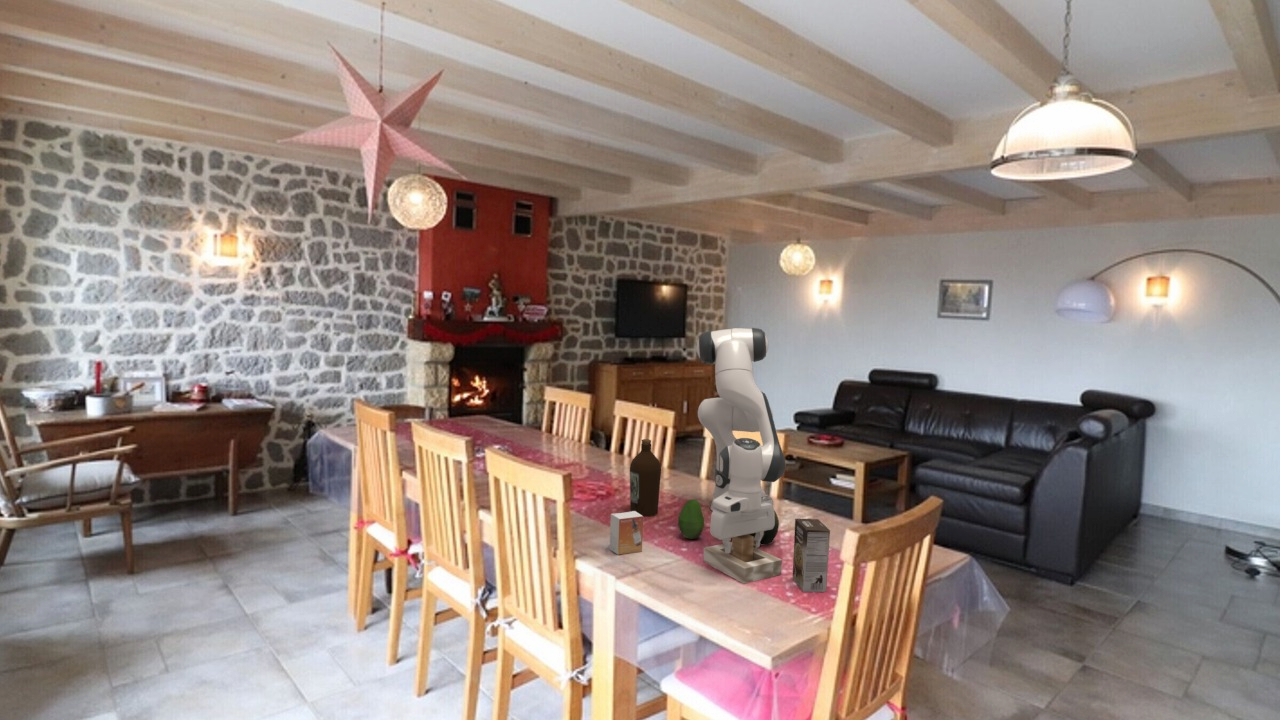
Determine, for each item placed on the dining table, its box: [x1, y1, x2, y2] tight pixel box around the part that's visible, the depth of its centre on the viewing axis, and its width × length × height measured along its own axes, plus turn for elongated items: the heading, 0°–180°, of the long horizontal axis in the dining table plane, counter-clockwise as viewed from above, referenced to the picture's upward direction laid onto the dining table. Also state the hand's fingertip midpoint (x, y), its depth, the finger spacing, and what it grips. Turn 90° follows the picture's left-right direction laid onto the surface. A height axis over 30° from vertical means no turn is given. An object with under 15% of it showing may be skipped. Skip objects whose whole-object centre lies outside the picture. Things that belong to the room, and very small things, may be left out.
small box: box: [609, 511, 644, 556], centre depth 198 cm, size 8×6×10 cm
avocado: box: [677, 499, 705, 540], centre depth 210 cm, size 8×8×12 cm
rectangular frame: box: [702, 541, 783, 584], centre depth 187 cm, size 13×17×4 cm
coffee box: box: [792, 518, 831, 593], centre depth 177 cm, size 9×6×16 cm
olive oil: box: [629, 438, 662, 518], centre depth 233 cm, size 11×11×25 cm
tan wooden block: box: [731, 534, 754, 562], centre depth 187 cm, size 4×7×9 cm, turn 32°
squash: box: [748, 509, 780, 546], centre depth 209 cm, size 14×15×15 cm
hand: (742, 549), depth 187 cm, fingers open, 8 cm apart
